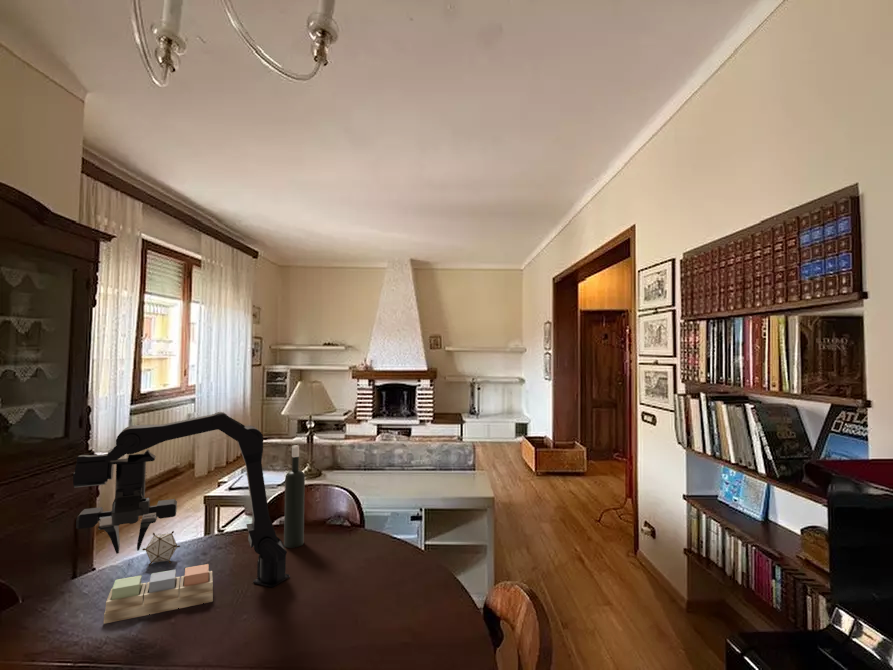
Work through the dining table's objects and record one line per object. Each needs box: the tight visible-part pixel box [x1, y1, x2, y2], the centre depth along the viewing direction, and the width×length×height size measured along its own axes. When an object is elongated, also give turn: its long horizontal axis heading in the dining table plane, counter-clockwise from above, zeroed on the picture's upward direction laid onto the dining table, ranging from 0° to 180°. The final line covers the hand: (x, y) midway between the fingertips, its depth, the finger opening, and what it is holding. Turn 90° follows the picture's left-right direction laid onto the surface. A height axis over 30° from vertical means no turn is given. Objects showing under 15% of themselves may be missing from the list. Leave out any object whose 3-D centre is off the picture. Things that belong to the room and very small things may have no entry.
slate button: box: [148, 569, 177, 593], centre depth 111 cm, size 5×5×3 cm
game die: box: [141, 530, 181, 566], centre depth 133 cm, size 9×8×10 cm
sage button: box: [111, 575, 142, 600], centre depth 108 cm, size 5×5×3 cm
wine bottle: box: [283, 444, 306, 549], centre depth 147 cm, size 6×6×30 cm
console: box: [103, 570, 214, 625], centre depth 111 cm, size 21×9×4 cm, turn 117°
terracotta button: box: [184, 563, 210, 586], centre depth 114 cm, size 5×5×3 cm
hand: (128, 551), depth 108 cm, fingers open, 4 cm apart
